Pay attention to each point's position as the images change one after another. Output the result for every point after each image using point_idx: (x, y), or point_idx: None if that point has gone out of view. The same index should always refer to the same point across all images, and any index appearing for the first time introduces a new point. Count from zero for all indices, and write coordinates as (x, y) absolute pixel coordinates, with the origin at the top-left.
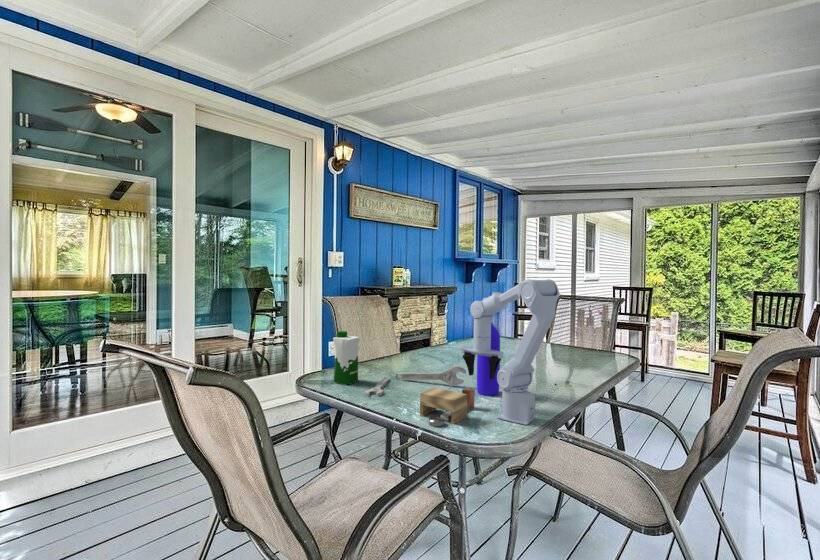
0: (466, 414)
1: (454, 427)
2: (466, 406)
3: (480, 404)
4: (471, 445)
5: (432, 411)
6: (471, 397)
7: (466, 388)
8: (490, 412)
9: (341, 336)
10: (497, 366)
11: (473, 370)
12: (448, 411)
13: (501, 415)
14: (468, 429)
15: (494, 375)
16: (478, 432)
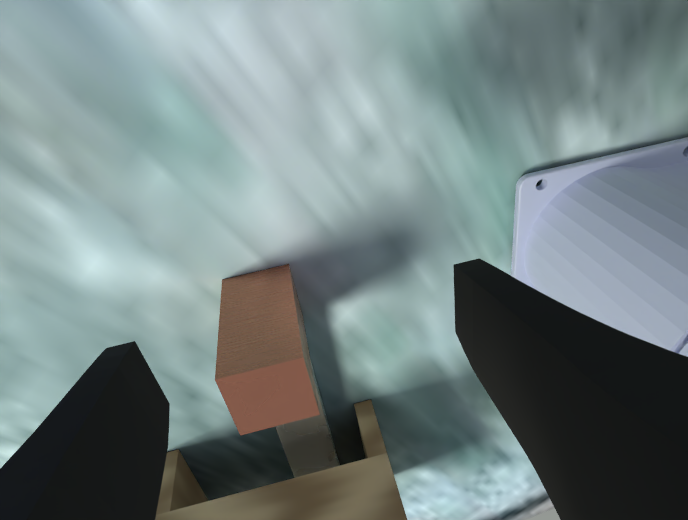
0: (374, 412)
1: (407, 489)
2: (385, 452)
3: (275, 182)
4: (531, 515)
5: (192, 474)
6: (308, 356)
7: (239, 397)
8: (430, 260)
9: None
10: (655, 347)
11: (118, 392)
12: (298, 470)
13: (527, 283)
14: (461, 465)
15: (504, 278)
16: (505, 456)
